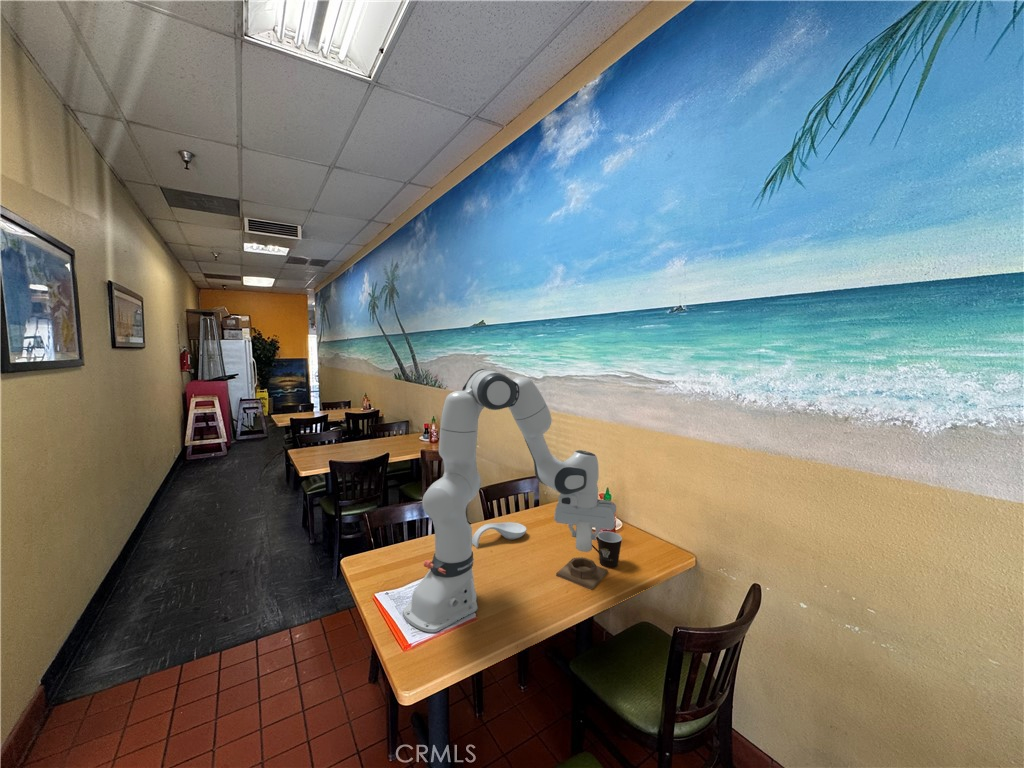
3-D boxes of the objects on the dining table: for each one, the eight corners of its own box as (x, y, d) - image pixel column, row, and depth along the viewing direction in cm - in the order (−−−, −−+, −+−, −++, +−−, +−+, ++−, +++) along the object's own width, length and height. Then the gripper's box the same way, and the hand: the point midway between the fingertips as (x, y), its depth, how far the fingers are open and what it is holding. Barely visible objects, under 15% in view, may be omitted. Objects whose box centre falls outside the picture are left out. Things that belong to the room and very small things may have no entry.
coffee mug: (626, 566, 138) (627, 539, 137) (608, 572, 134) (609, 544, 133) (603, 551, 148) (604, 526, 147) (586, 557, 144) (586, 531, 143)
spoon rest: (516, 527, 168) (516, 511, 168) (532, 538, 158) (532, 521, 158) (467, 541, 155) (467, 523, 155) (481, 553, 146) (481, 535, 145)
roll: (581, 553, 128) (581, 523, 127) (572, 545, 133) (573, 517, 132) (595, 550, 130) (595, 520, 129) (586, 543, 135) (586, 515, 134)
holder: (591, 590, 123) (591, 579, 123) (556, 575, 131) (556, 565, 131) (607, 572, 134) (608, 562, 133) (574, 560, 141) (574, 551, 141)
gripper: (616, 498, 131) (615, 537, 131) (556, 492, 136) (556, 530, 137) (616, 504, 124) (615, 546, 125) (553, 498, 130) (553, 537, 131)
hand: (583, 537), depth 131 cm, fingers closed on roll, 5 cm apart
